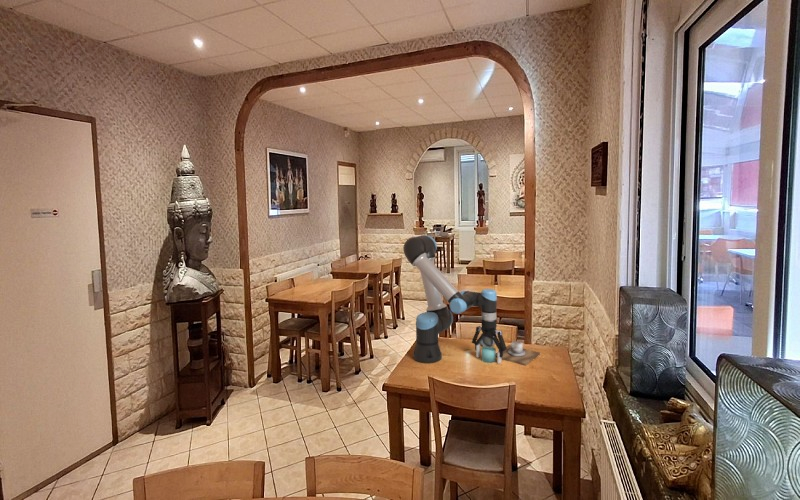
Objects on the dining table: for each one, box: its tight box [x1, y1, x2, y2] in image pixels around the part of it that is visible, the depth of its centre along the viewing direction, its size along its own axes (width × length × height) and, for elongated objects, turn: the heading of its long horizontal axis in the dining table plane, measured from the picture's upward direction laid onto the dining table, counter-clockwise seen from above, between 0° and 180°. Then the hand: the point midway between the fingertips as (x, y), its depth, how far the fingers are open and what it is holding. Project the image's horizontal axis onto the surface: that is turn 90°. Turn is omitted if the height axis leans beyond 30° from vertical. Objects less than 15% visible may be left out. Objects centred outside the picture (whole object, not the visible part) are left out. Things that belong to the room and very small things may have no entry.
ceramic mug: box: [479, 336, 496, 347], centre depth 237 cm, size 11×8×8 cm
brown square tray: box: [496, 340, 541, 367], centre depth 221 cm, size 18×18×7 cm
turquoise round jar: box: [481, 345, 497, 364], centre depth 216 cm, size 7×7×7 cm
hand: (488, 359), depth 217 cm, fingers open, 12 cm apart
